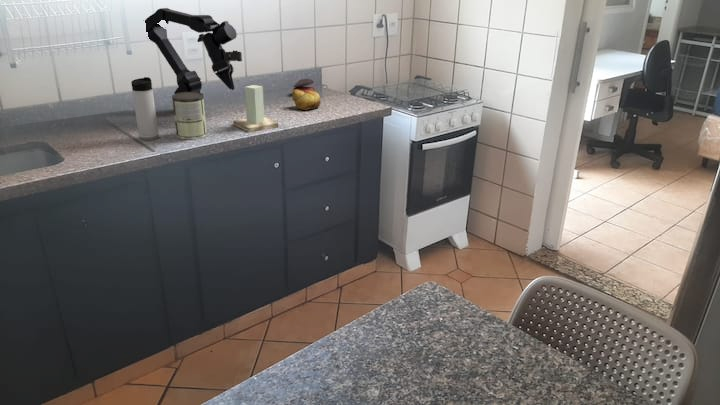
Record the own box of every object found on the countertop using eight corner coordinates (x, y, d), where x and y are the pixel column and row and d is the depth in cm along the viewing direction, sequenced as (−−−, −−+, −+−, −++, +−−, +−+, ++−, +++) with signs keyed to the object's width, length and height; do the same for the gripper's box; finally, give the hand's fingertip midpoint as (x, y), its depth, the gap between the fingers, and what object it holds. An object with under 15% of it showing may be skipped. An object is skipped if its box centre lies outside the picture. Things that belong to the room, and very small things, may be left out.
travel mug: (163, 136, 187) (156, 78, 179) (150, 141, 181) (142, 81, 173) (148, 134, 189) (140, 76, 181) (135, 139, 183) (126, 79, 175)
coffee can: (171, 134, 189) (166, 94, 184) (197, 129, 196) (194, 90, 190) (185, 141, 183) (181, 100, 177) (212, 135, 189) (209, 95, 184)
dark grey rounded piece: (296, 106, 248) (285, 87, 244) (301, 99, 256) (291, 80, 253) (317, 97, 244) (306, 77, 240) (322, 90, 253) (311, 70, 249)
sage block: (246, 122, 201) (244, 86, 195) (254, 119, 204) (253, 84, 199) (256, 124, 199) (254, 88, 193) (264, 121, 202) (262, 86, 197)
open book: (249, 132, 194) (249, 128, 194) (233, 124, 203) (233, 120, 202) (278, 126, 201) (278, 123, 201) (261, 119, 210) (261, 115, 209)
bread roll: (314, 103, 236) (314, 85, 232) (328, 108, 229) (328, 89, 226) (289, 107, 228) (289, 88, 225) (303, 112, 221) (302, 93, 218)
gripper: (232, 38, 193) (251, 80, 196) (236, 44, 211) (253, 82, 214) (203, 49, 192) (222, 91, 195) (210, 54, 210) (227, 93, 213)
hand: (232, 89), depth 205 cm, fingers open, 9 cm apart
